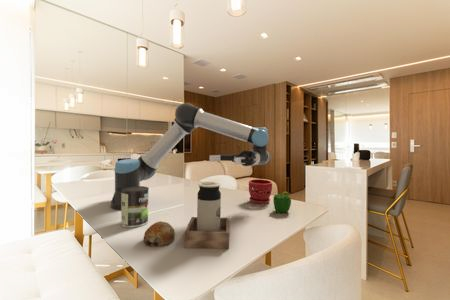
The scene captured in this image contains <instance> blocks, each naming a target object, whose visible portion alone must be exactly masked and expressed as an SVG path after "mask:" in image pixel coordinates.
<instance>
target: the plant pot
mask: <svg viewBox="0 0 450 300" xmlns="http://www.w3.org/2000/svg"><path fill="white" fill-rule="evenodd" d="M272 191H273V181H271V180H268V179H261V178H260V179H259V178H258V179H257V178H256V179H249V180H248V192H249V195H250V196H249V200H250V201H251V202H252V203H254V204H258V205H259V204H260V205H264V204H268V203H270V202H271V198H270V197H271V195H272Z"/></svg>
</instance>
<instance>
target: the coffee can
mask: <svg viewBox="0 0 450 300" xmlns="http://www.w3.org/2000/svg"><path fill="white" fill-rule="evenodd" d="M121 192H122V193H121V209H120V210H121V212H120V213H121V216H120V219H121V221H120V222H121V223H120V225H121V226H122V227H123V228H129V229H130V228H140V227H143V226H145V225H147V224H148V223H149V187H148V186H143V185H142V186H141V185H140V186H133V187H126V188H123V189H121Z"/></svg>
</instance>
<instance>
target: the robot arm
mask: <svg viewBox="0 0 450 300" xmlns="http://www.w3.org/2000/svg"><path fill="white" fill-rule="evenodd" d="M174 114H175V115H174V117H175V118H174V119H173V121H174V122H173V124H172V125H171V126H170V128H169V129H168V130H167V131H165V133H164V134H163V135H162V136H161V137H160V139H158V141H157V142H156V143H155V144H154V145H153V146H152V147H151V148H150V149H149V150H148V151H147V153H142V154H141V155H140V156H139V157H138V158H127V159H121V160H120V159H119V160H118V161H116V162H115V165H114V193H113V196H112V198H111V202H110V208H112V209H113V210H114V209H115V210H121V193H122V192H121V189H123V188H126V187H133V186H141V185H140V183H141V182H143V181H147V180H149V179H151V178H153V176H154V175H155V174H156V172H157V170H158V169H159V163H160V162H161V161H162V160H163V159H164V158H165V157H166V156H167V155H168V154H169V153H170V152H171V151H172V150H173V149H174V147H175V146H176V145H177V144H179V142H180V141H181V140H182V139H183V138H184V137H185V136H186V135H190V134H191V133H192V132H193V131H194V130H196V129H197V128H199V127H200V128H203V129H206V130H210V131H212V132H215V133H218V134H221V135H224V136H227V137H231V138H234V139H236V140H240V141H242V142H247V143H248V144H251V145H252V149H251V150H250V149H249V150H242V151H241V152H240V154H239V153H238V154H237V153H236V154H215V155H214V154H211V155H209V161H208V162H209V163H210V162H217V163H220V162H221V161H222V162H224V161H225V162H227V161H229V162H232V163H234V165H235V166H237V165H242V166H243V167H254V166H259V165H265V164H268V163H269V161H270V153H269V152H268V150H267V148H268V142H269V140H270V139H269V138H270V137H269V134H268V128H267V127H253V126H249V125H247V124H243V123H241V122H239V121H238V122H237V121H234V120H231V119H228V118H225V117H222V116H219V115H215V114H213V113H210V112H206V111H204V110H203V108H201V107H197V106H195V105H193V104H192V103H189V102H185V103H181V104H179V105H178V106H177V107H176V109H175V111H174Z"/></svg>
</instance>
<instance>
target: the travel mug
mask: <svg viewBox="0 0 450 300" xmlns="http://www.w3.org/2000/svg"><path fill="white" fill-rule="evenodd" d="M198 187H199V190H198V192H197V201H196V202H197V208H196V209H197V211H196V212H197V215H196V217H197V231H214V232H220V218H221V213H222V212H221V208H222V205H221V204H222V202H221V201H222V197H221V196H222V193H221V191H220V187H221V183H219V182H216V181H214V182H213V181H204V182H199V183H198Z"/></svg>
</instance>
